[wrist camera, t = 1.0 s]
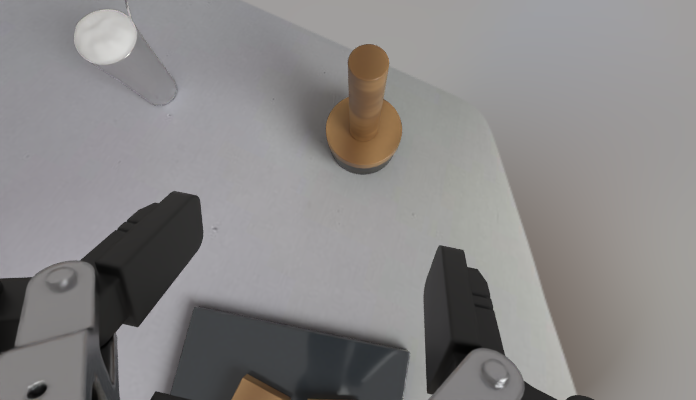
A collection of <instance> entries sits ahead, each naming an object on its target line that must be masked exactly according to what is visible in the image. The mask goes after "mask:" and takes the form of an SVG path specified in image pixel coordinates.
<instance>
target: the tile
mask: <svg viewBox="0 0 696 400" xmlns="http://www.w3.org/2000/svg"><path fill="white" fill-rule="evenodd" d="M409 357H410V352H409V351H408V350H405V349H400V348H396V347H391V346H386V345H381V344H376V343H372V342H367V341H362V340H357V339H353V338H348V337H343V336H338V335H334V334H329V333H324V332H319V331H314V330H310V329H305V328H300V327H295V326H291V325H286V324H281V323H276V322H272V321H267V320H262V319H257V318H252V317H248V316H243V315H238V314H233V313H229V312H224V311H219V310H214V309H210V308H205V307H200V306H199V307H194V310H193V314H192V317H191V321H190V325H189V328H188V332H187V335H186V339H185V343H184V346H183V350H182V354H181V357H180V361H179V365H178V368H177V372H176V375H175V379H174V383H173V386H172V390H171V394H170V395H173V396H178V397H182V398H186V399H190V400H231V399H232V397H233V395H234V393H235V392H236V390H237V388H238V386H239V384H240V382H241V380H242V378H243V377H244V376H245V375H246V374H249V375H250V376H252V377H254V378H256V379H258V380H259V381H261V382H263V383H265V384H267V385H269V386H270V387H272V388H274V389H276V390H278V391H279V392H281V393H283V394H285V395H287V396H289V397H290V398H291V400H308V399H335V400H403V397H404V390H405V383H406V377H407V370H408V363H409Z"/></svg>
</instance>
